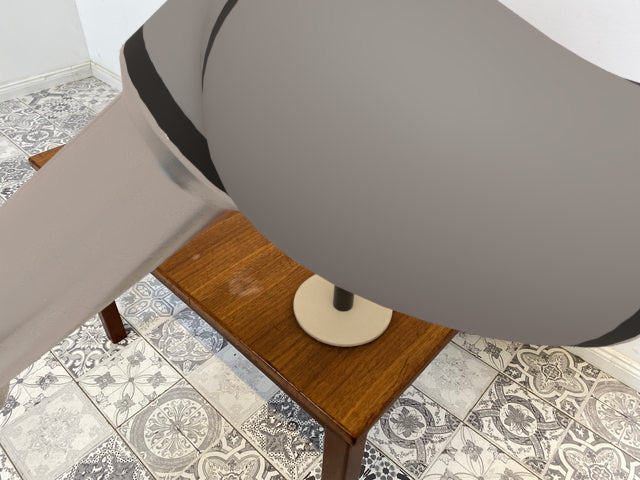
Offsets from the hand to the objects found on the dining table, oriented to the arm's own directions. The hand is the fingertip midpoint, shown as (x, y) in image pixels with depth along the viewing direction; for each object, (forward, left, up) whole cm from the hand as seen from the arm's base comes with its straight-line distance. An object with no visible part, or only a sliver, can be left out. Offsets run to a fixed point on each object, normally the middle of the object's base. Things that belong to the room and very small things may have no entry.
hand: (399, 213), depth 56 cm
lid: (-2, +5, -19) cm, 20 cm away
